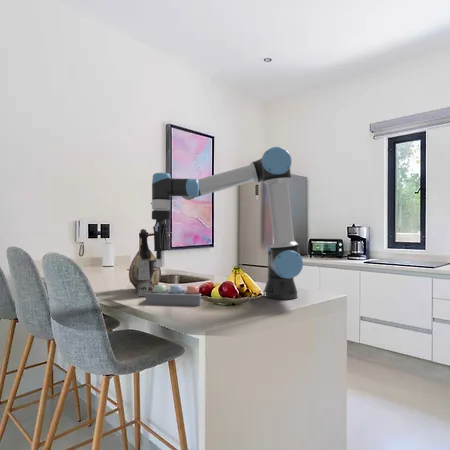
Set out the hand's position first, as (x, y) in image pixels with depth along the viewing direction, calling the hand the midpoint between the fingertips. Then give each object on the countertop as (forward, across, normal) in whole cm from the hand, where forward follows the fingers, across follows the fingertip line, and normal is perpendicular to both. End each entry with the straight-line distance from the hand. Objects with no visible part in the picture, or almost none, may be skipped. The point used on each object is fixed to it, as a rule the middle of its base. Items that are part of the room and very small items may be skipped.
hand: (160, 266), depth 148 cm
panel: (+14, 0, +7) cm, 16 cm away
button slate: (+12, 0, +7) cm, 14 cm away
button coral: (+12, 0, +14) cm, 18 cm away
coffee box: (+15, -13, -9) cm, 22 cm away
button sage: (+12, 0, 0) cm, 12 cm away
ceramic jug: (+15, -23, -14) cm, 31 cm away
